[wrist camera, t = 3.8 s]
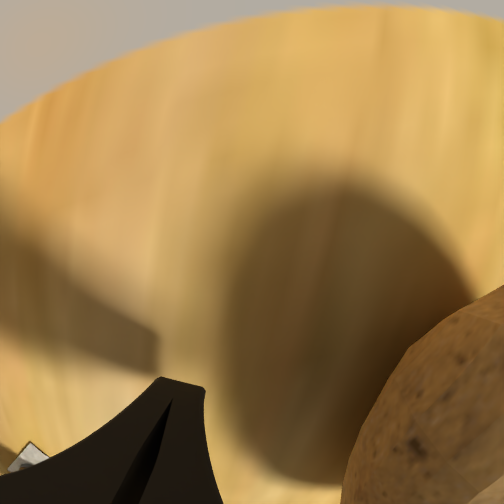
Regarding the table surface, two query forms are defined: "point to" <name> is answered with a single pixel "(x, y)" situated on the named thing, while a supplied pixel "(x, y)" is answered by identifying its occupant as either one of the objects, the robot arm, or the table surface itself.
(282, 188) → the table surface
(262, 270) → the table surface
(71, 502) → the robot arm
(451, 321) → the potato
